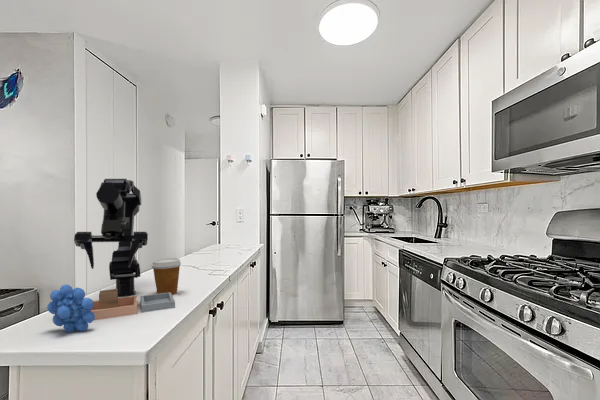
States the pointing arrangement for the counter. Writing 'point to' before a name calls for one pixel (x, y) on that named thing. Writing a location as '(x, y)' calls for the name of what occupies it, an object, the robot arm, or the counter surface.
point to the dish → (116, 308)
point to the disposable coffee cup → (166, 275)
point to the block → (108, 299)
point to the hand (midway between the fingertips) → (111, 267)
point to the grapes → (71, 308)
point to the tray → (157, 302)
